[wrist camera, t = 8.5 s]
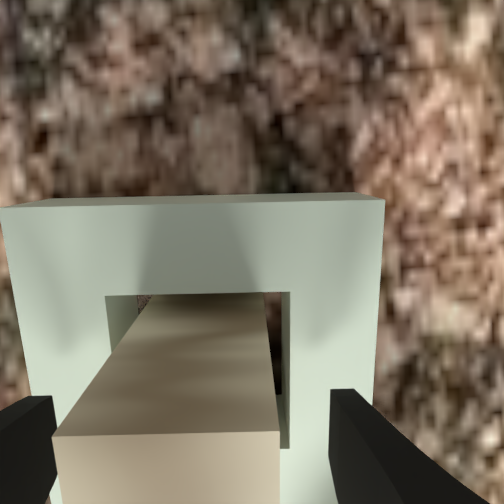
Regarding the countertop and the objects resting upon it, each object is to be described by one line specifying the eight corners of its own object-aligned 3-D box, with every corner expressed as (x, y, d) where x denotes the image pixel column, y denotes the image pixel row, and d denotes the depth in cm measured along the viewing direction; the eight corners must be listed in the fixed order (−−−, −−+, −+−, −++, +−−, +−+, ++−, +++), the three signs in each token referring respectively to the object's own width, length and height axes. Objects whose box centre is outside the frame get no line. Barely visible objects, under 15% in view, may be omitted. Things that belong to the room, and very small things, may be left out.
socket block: (355, 192, 13) (385, 199, 10) (343, 448, 16) (365, 511, 13) (52, 198, 13) (-2, 207, 10) (89, 454, 16) (53, 520, 13)
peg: (262, 285, 14) (279, 431, 6) (262, 378, 15) (279, 601, 7) (158, 287, 14) (51, 436, 6) (166, 380, 15) (80, 607, 7)
